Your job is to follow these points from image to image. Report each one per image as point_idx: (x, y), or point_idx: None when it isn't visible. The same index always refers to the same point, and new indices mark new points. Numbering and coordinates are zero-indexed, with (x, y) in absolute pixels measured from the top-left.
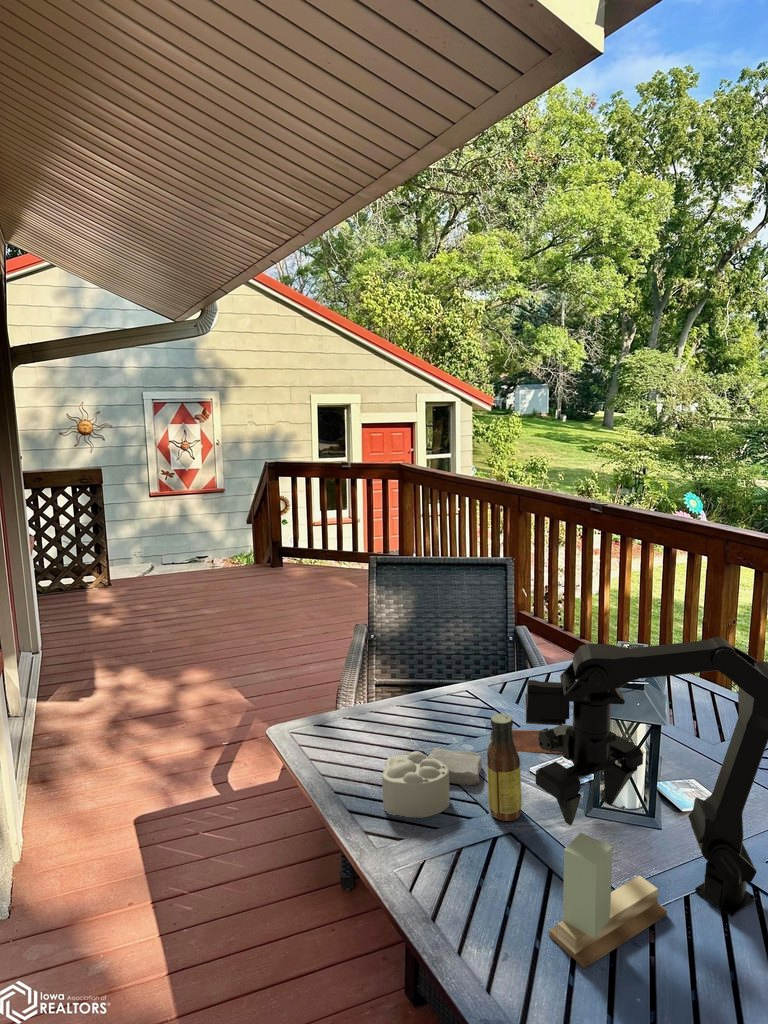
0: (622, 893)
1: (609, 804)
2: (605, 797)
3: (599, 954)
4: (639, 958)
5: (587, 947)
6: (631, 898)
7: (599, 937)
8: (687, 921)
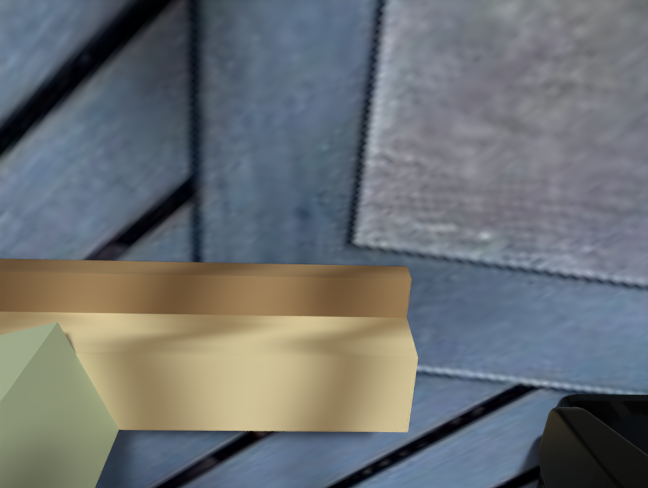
0: (264, 383)
1: (542, 451)
2: (579, 457)
3: None
4: (173, 448)
5: None
6: (275, 412)
7: None
8: (420, 441)
